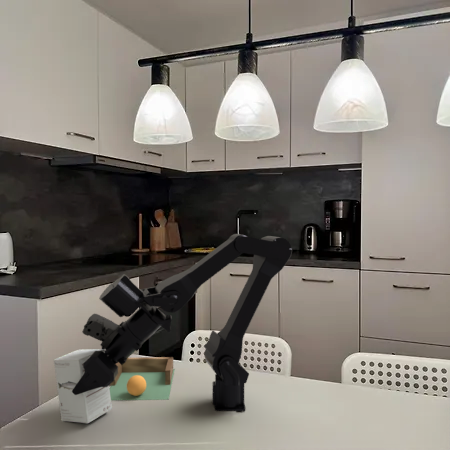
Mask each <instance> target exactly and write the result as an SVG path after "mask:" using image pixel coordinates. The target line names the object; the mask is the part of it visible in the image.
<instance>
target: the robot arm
mask: <svg viewBox="0 0 450 450" xmlns="http://www.w3.org/2000/svg"><path fill="white" fill-rule="evenodd" d="M292 253H293V248H292V246H291V243H290V242H289V241H288V239H286V238H284V237H279V236H271V235H267V236H264V237H261V238H258V237H256V238H255V237H251V236H247V235H244V234H240V233H234V234H232V235H230V236H229V238H228V239H227V240H226V241H224V242H223V243H221V244H220V245H219V246H217V247H216V248H214V249H213V250H212V251H211V252H209V253H208V254H207V255H205V256H204V257H203V258H201V259H200V260H199V261H198V262H196V263H195V264H193V265H192V266H190V267H189V268H188V269H186V270H184V271H181V272H179V273H176V274H174V275H172V276H169V277H168V278H166V279H164V280H162V281H161V282H158V284H157V285H156V286H153V287H152V286H151V287H147V288H142V289H140V288H139V287H138V285H136V284H135V283H134V282H133V281H132V280H131V279H130V278H129V276H127V275H126V274H125V273H124V274H122V275H121V276H119V278H117V279H116V280H115V281H114V282H111V283H110V284H109V285H108V286H107V287H106V288H105V289H104V291H102V293H101V294H100V296H99V301H101V302H102V303H103V304H104V305H105V306H106V307H107V308H109V309H110V310H111V311H113V312H114V313H115V314H116V315H117V316H118V317H120V318H123V317H125V318H128V317H129V318H128V319H127V320H124V321H121V323H119V324H117V323H115V322H114V321H112V320H110V319H109V318H106V317H104V316H103V315H100V314H98V313H93V314H91V315H90V316H89V317H88V318H87V321H86V323H85V324H84V325H83V329H82V332H81V333H82V334H83V335H85V336H87V337H88V336H89V337H91V338H94V339H95V340H97V341H100V342H101V343H100V344H99V345H100V347H101V349H104V351H105V353H104V352H103V351H95V352H94V353H92V354H91V355H90V356H89V358H88V359H87V360H86V361H85V362H84V363H83V368H84V370H85V373H84V375H83V376H82V377H81V379H80V380H79V382H78V383H77V384H76V386H75V387H74V389H73V390H72V393H73V394H74V395H78V394H81V393H84V392H87V391H90V390H93V389H96V388H100V387H108V386H109V387H110V384H111V383H112V382H113V381H114V380H115V378H116V376H117V374H118V366H117V365H116V363H118V362H119V363H120V364H121V365H123V364H124V363H125V362H126V360H127V359H128V358H130V357H131V356H132V355H133V354H134V353H135V352H138V351H139V350H140V349H141V348H142V345H143V344H144V343H145V342H146V341H147V340H149V339H150V338H151V337H152V336H153V335H154V333H156V332H157V331H158V330H159V329H160V328H163V329H164V331H166V332H167V333H171V332H172V328H171V324H172V320H173V318H172V315H171V313H173V314H176V313H178V312H179V311H180V310H182V309H183V308H184V307H185V306H186V305H187V304H188V302H189V301H190V300H192V298H193V297H194V295H195V293H196V292H197V291H198V290H199V289H200V287H201V286H202V285H203V284H205V283H206V282H207V281H209V280H210V279H211V278H212V277H214V276H215V275H216V274H218V273H219V272H221V270H223V269H224V268H226V267H227V266H228V265H230V263H233V261H234V260H237V258H239V257H240V256H241V255H243V254H246V255H247V254H248V255H253V260H252V269H251V272H250V274H249V276H248V278H247V280H246V282H245V285H244V286H243V289H242V291H241V293H240V294H239V296H238V299H237V300H236V303H235V305H234V307H233V309H232V310H231V313H230V316H229V317H228V319H227V322H226V323H225V325H224V327H223V328H222V329H221V330H220V331H218V332H216V331H215V330H211V333H210V335H209V339H207V342H206V343H205V344H204V345H203V347H204V353H203V355H204V359H205V361H206V363H207V364H208V366H209V367H210V369H212V371H213V372H214V373H215V374H214V375H215V377H214V380H215V381H212V383H211V384H212V389H211V390H212V394H211V395H212V399H211V400H212V401H211V402H212V405H213V406H214V411H215V412H245V411H246V404H245V384H246V383H247V381H248V379H249V376H250V373H249V372H248V371H247V370H246V369H245V368H244V367H243V365H241V364H240V360H241V358H242V353H243V342H244V337H245V335H246V333H247V330H248V329H249V326H250V324H251V322H252V320H253V318H254V316H255V314H256V312H257V310H258V308H259V306H260V303H261V302H262V299H263V297H264V296H265V293H266V291H267V289H268V287H269V285H270V283H271V281H272V279H273V278H274V277H276V275H278V274H279V273H281V271H282V270H283V269H284V267H285V266H286V265H287V263H288V262H289V260H290V259H291V257H292ZM159 308H160V309H161V310H160V309H159ZM162 310H163V311H164V312H166V313H170V314H164V312H162Z"/></svg>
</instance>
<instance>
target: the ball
mask: <svg viewBox="0 0 450 450" xmlns="http://www.w3.org/2000/svg"><path fill="white" fill-rule="evenodd" d="M145 389H146V381H145V379H144V378H143V377H142V376H139V375H135V376H133V377H131V378H130V379H129V380H128V382H127V390H128V392H129V393H130V394H131V395H133V396H138V395H141V394H142V393H143V392H144V391H145Z"/></svg>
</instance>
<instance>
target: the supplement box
mask: <svg viewBox="0 0 450 450" xmlns="http://www.w3.org/2000/svg"><path fill="white" fill-rule="evenodd" d="M95 351H103V352H104V353H105V351H104V349H102V348H101V349H98V348H97V349H93V348H92V349H76V350H73V351H72V352H69V353H66V354H65V355H62V356H61V355H60V357H56V358H55V359H53V367H54V373H55V381H56V389H57V395H58V396H57V397H58V403H59V404H58V405H59V412H60V419H61V422H74V423H82V424H89V423H91V422H92V421H94V420H96V419H97V418H99V417H101V416H103V415H104V414H107V412H109V411H110V410H111V409H112V408H113V405H112V400H111V397H110V389H109V388H110V385H109V386H108V387H100V388H96V389H93V390H90V391H87V392H84V393H81V394H78V395H74V394H73V393H72V390H73V389H74V387H75V386H76V384H77V383H78V382H79V380H80V379H81V377H82V376H83V375H84V373H85V370H84V368H83V363H84V362H85V361H86V360H87V359H88V358H89V356H90V355H91V354H92V353H94V352H95Z"/></svg>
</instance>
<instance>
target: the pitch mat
mask: <svg viewBox="0 0 450 450" xmlns="http://www.w3.org/2000/svg"><path fill="white" fill-rule="evenodd" d="M175 370H176V368H173V374H172V379H171V384H170V385H165V372H132V373H121V375H120V377H119V379H118V381H117V383H116V385H114V386H109V389H110V397H111V401H159V400H161V401H164V400H165V401H166V400H169V399H170V394H171V390H172V389H171V388H172V384H173V381H174V380H173V379H174V375H175ZM135 375H139V376H142V377H143V378H144V379H145V381H146V389H145V391H144V392H143V393H142V394H141V395H138V396H133V395H131V394H130V393H129V392H128V390H127V382H128V380H129V379H130V378H131V377H133V376H135Z"/></svg>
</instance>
